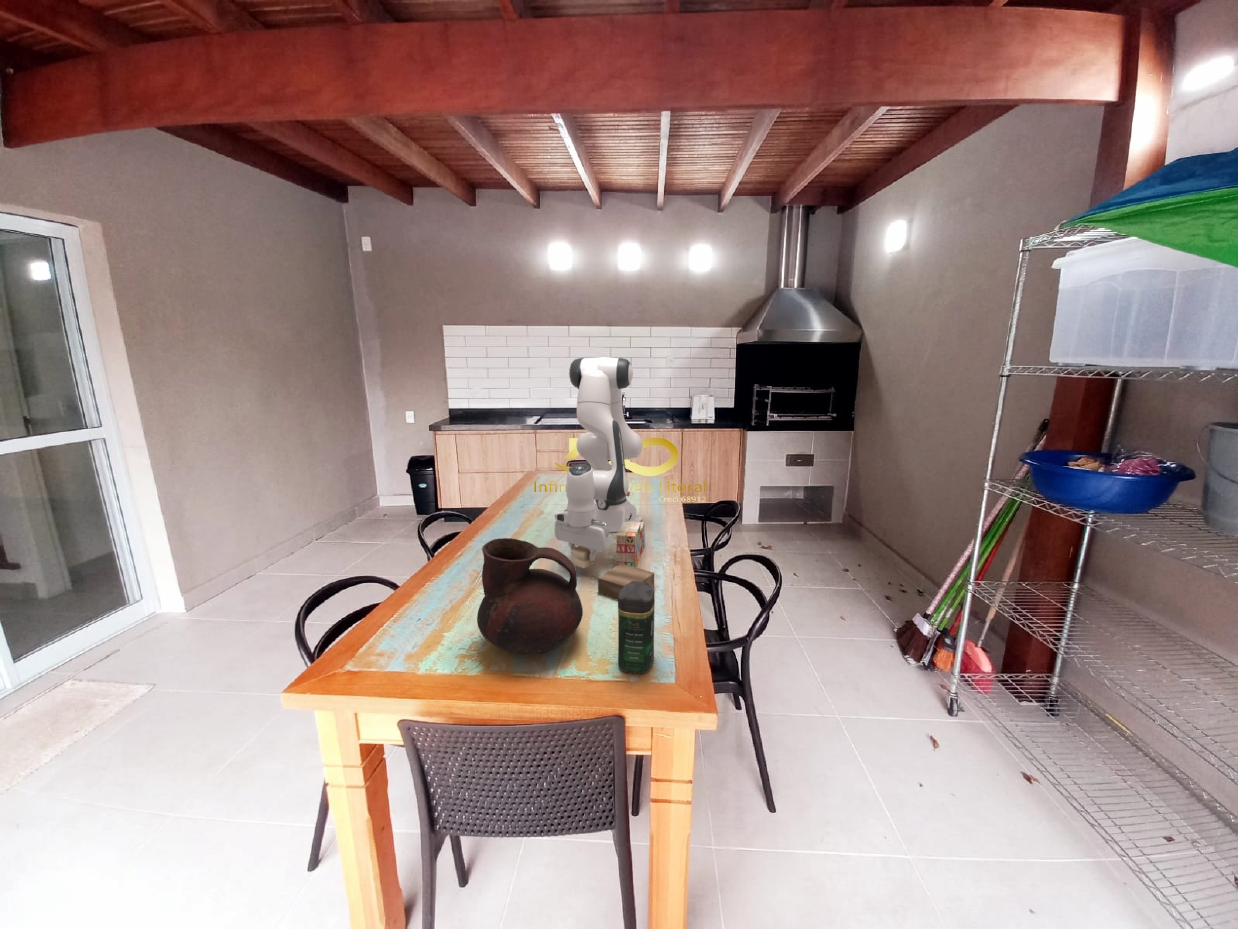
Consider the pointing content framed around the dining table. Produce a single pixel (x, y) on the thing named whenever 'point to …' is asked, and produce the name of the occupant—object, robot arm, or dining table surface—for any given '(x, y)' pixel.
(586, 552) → the beige wooden cube
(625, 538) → the stack of blocks
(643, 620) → the coffee jar
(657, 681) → the dining table surface
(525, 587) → the jug
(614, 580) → the walnut block
